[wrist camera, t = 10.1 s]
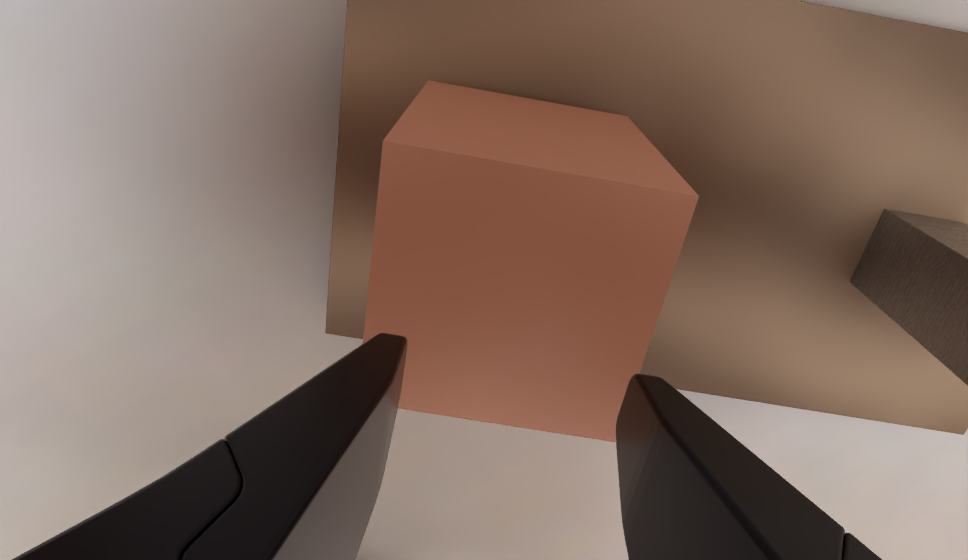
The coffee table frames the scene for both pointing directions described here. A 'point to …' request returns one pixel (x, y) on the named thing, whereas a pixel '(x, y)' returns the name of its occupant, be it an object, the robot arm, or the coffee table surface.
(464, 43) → the board
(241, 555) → the robot arm
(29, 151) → the coffee table surface
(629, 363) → the salmon orange block
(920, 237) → the steel post
